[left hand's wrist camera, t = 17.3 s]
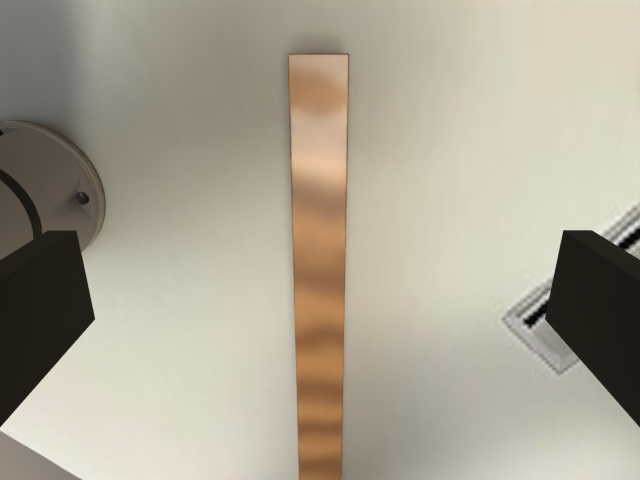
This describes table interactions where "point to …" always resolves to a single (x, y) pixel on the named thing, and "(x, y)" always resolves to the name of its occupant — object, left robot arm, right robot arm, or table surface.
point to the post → (319, 253)
